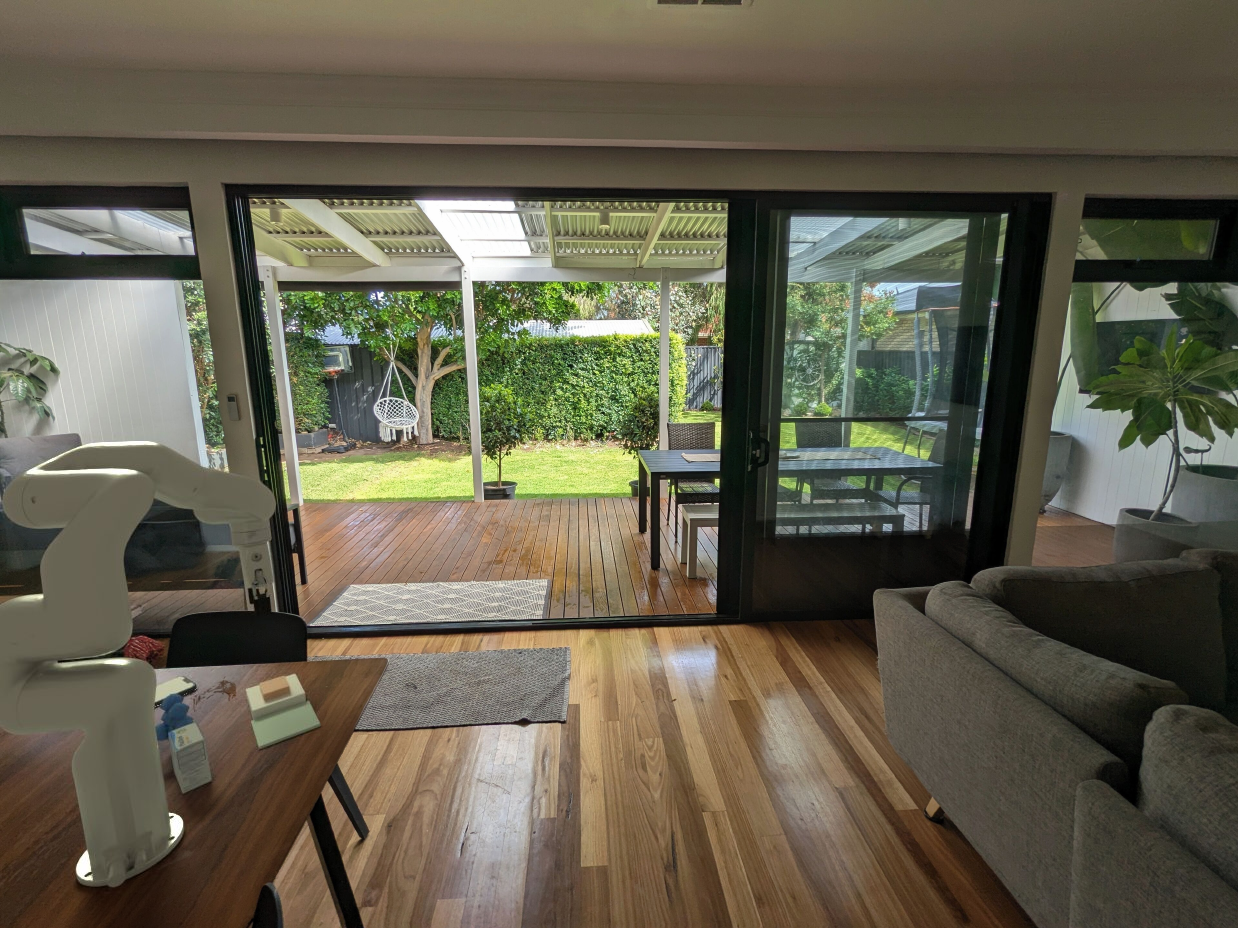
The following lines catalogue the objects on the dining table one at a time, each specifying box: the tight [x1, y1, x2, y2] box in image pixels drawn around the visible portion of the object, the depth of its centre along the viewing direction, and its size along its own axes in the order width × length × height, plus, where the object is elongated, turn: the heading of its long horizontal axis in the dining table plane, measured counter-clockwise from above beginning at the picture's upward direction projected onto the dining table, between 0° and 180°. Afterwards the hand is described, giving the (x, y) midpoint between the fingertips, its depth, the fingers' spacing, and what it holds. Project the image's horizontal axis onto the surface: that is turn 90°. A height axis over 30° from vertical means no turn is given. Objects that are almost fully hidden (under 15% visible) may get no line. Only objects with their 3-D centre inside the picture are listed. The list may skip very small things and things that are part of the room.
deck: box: [245, 673, 307, 720], centre depth 124 cm, size 11×10×2 cm
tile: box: [258, 675, 290, 701], centre depth 124 cm, size 6×5×2 cm
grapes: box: [155, 694, 195, 742], centre depth 106 cm, size 12×7×12 cm, turn 54°
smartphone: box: [155, 675, 198, 706], centre depth 125 cm, size 9×2×16 cm
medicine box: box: [168, 721, 213, 794], centre depth 100 cm, size 8×4×9 cm, turn 47°
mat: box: [250, 700, 321, 750], centre depth 115 cm, size 11×11×1 cm
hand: (260, 607), depth 127 cm, fingers open, 7 cm apart
